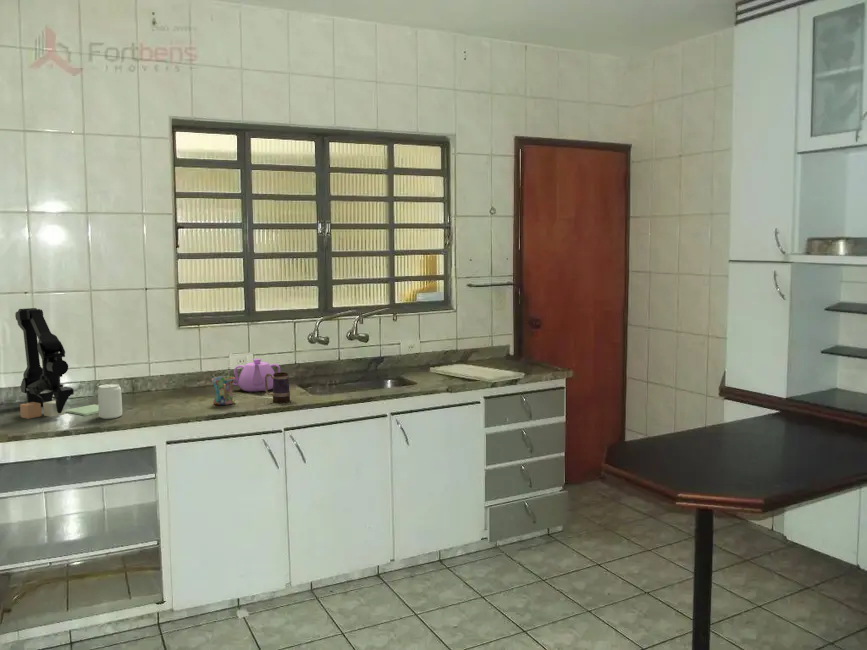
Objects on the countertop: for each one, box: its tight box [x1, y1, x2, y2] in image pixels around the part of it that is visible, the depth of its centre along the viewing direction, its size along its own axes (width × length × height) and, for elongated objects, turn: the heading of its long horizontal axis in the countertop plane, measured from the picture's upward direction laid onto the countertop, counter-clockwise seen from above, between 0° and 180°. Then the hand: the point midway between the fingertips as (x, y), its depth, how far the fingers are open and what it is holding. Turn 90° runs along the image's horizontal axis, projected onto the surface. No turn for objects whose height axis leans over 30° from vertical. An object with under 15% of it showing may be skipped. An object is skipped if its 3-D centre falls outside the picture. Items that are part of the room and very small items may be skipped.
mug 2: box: [265, 371, 291, 404], centre depth 302 cm, size 10×7×12 cm
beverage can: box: [97, 383, 123, 420], centre depth 276 cm, size 8×8×12 cm
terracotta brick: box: [19, 402, 42, 420], centre depth 278 cm, size 5×5×5 cm
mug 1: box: [211, 375, 236, 406], centre depth 297 cm, size 12×9×11 cm
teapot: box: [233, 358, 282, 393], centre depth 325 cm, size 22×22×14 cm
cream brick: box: [42, 400, 65, 418], centre depth 280 cm, size 5×5×5 cm
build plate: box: [65, 404, 99, 417], centre depth 287 cm, size 12×12×1 cm
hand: (53, 412), depth 281 cm, fingers open, 7 cm apart
